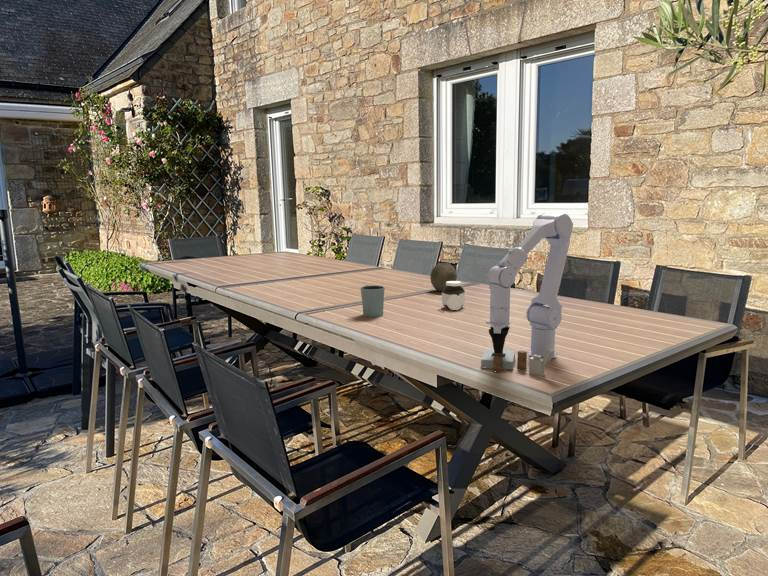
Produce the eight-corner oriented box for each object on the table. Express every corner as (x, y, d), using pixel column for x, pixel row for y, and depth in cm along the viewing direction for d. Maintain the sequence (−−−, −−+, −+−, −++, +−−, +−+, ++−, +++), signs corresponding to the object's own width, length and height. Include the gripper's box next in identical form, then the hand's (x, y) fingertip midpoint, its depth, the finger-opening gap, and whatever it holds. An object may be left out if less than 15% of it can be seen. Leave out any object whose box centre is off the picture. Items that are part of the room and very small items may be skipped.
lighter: (528, 372, 161) (529, 345, 159) (532, 371, 162) (533, 344, 161) (550, 378, 155) (551, 350, 154) (554, 377, 157) (555, 349, 155)
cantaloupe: (427, 292, 296) (427, 264, 294) (433, 288, 309) (433, 261, 307) (454, 294, 292) (454, 265, 289) (459, 289, 305) (459, 262, 303)
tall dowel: (494, 358, 172) (495, 335, 170) (503, 358, 171) (503, 336, 170) (493, 360, 169) (493, 337, 168) (502, 361, 168) (502, 338, 167)
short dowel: (493, 369, 164) (493, 356, 163) (502, 370, 163) (503, 356, 163) (492, 372, 162) (493, 358, 161) (501, 372, 161) (502, 359, 160)
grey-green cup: (388, 313, 243) (388, 286, 242) (378, 318, 234) (378, 289, 232) (367, 311, 248) (367, 284, 246) (356, 316, 239) (356, 288, 237)
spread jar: (456, 305, 262) (456, 280, 260) (472, 309, 253) (473, 283, 251) (435, 308, 256) (436, 282, 254) (452, 312, 246) (452, 285, 244)
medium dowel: (517, 367, 166) (517, 350, 165) (526, 367, 165) (527, 351, 164) (516, 369, 163) (517, 352, 163) (526, 370, 163) (526, 353, 162)
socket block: (485, 356, 177) (485, 348, 177) (515, 358, 175) (515, 350, 174) (480, 367, 166) (481, 359, 165) (512, 370, 163) (512, 361, 163)
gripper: (488, 302, 175) (487, 344, 178) (483, 310, 162) (482, 357, 164) (512, 303, 173) (510, 346, 176) (508, 312, 160) (507, 358, 162)
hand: (498, 351), depth 170 cm, fingers closed on tall dowel, 3 cm apart
